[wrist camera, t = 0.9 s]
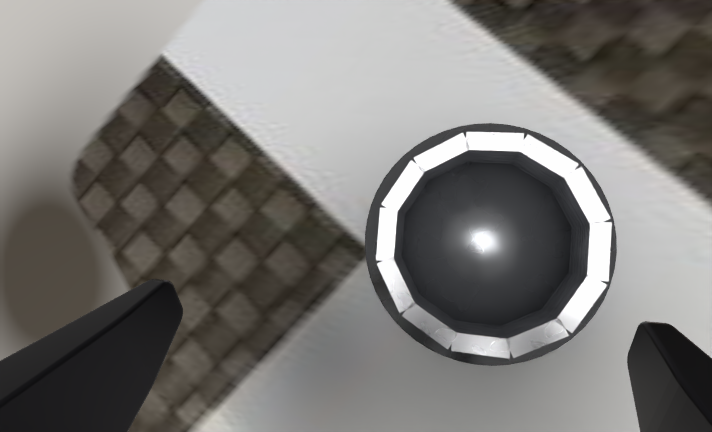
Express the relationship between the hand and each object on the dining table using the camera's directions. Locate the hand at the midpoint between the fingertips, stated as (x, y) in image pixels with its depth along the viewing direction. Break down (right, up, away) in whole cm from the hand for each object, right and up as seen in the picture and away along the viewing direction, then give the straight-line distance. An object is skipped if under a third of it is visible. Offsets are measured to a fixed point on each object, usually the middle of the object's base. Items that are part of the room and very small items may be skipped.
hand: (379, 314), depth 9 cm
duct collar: (+6, +1, +14) cm, 15 cm away
